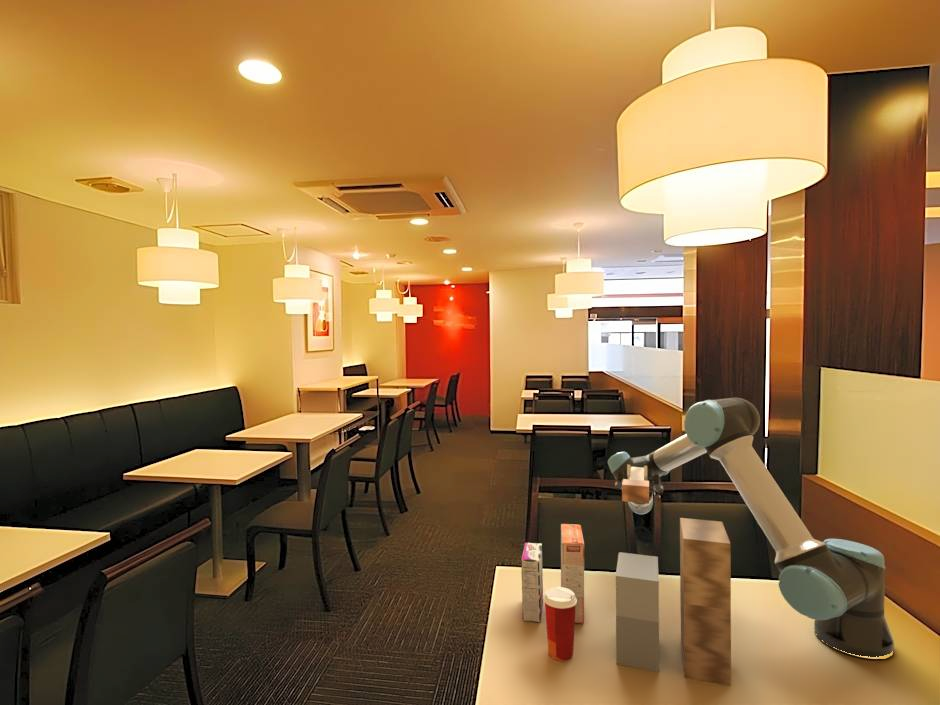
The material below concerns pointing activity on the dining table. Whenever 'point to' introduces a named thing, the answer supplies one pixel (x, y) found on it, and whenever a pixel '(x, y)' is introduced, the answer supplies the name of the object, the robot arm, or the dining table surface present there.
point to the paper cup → (560, 622)
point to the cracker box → (573, 565)
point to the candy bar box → (532, 582)
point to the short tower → (637, 611)
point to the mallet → (635, 487)
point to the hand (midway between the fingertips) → (637, 470)
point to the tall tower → (705, 600)
